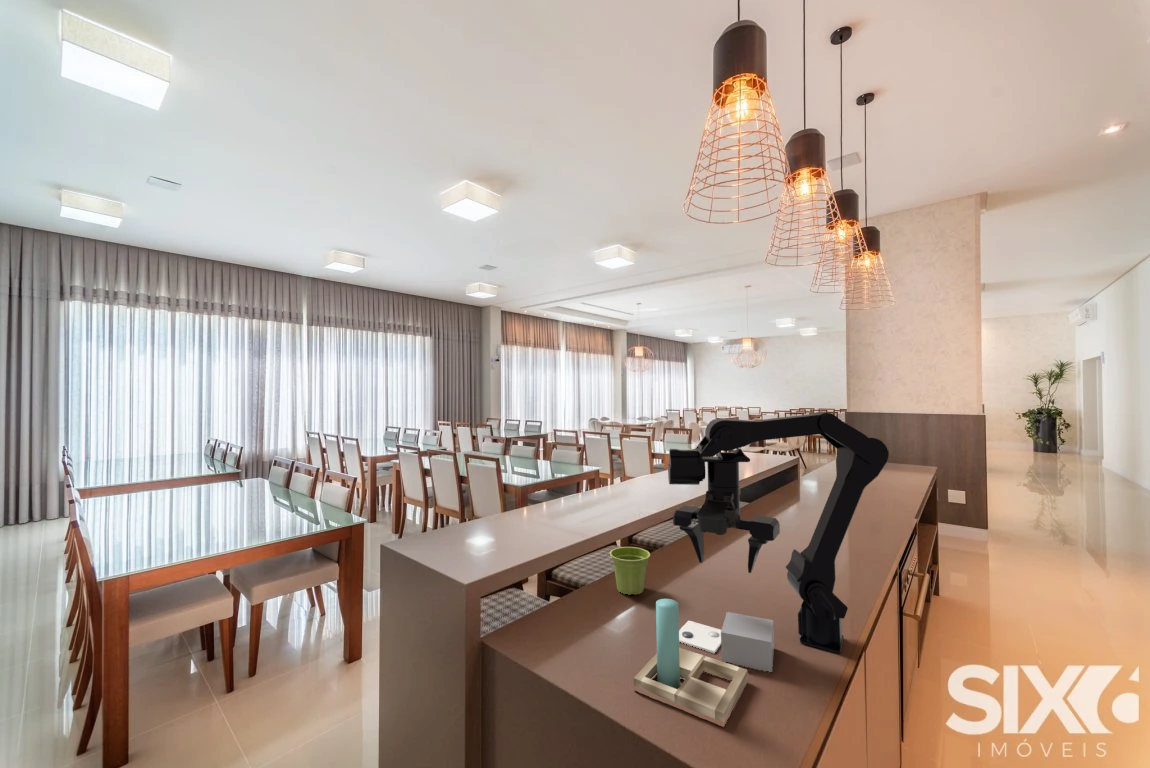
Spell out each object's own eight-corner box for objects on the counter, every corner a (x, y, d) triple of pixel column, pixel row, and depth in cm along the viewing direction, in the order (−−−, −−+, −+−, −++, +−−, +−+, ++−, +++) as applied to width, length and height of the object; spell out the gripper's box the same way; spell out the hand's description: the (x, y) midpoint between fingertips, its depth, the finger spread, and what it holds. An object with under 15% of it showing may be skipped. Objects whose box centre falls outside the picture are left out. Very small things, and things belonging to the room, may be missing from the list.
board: (747, 682, 73) (747, 669, 73) (724, 728, 63) (723, 713, 63) (666, 654, 81) (665, 643, 81) (634, 691, 71) (633, 678, 71)
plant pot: (624, 578, 114) (624, 544, 115) (658, 588, 108) (657, 551, 109) (602, 591, 107) (601, 554, 107) (637, 603, 101) (636, 563, 101)
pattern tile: (728, 633, 88) (728, 630, 88) (714, 653, 81) (714, 650, 81) (688, 622, 92) (688, 619, 92) (672, 640, 86) (672, 637, 86)
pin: (683, 684, 73) (681, 602, 73) (674, 696, 70) (672, 610, 70) (663, 677, 75) (661, 596, 75) (653, 688, 72) (652, 605, 72)
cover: (773, 648, 83) (773, 620, 83) (772, 672, 75) (771, 642, 75) (727, 638, 86) (726, 611, 86) (721, 661, 79) (720, 632, 79)
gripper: (660, 487, 86) (661, 570, 86) (764, 499, 75) (766, 594, 75) (683, 477, 95) (684, 553, 95) (779, 487, 85) (781, 572, 84)
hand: (725, 567), depth 87 cm, fingers open, 9 cm apart
